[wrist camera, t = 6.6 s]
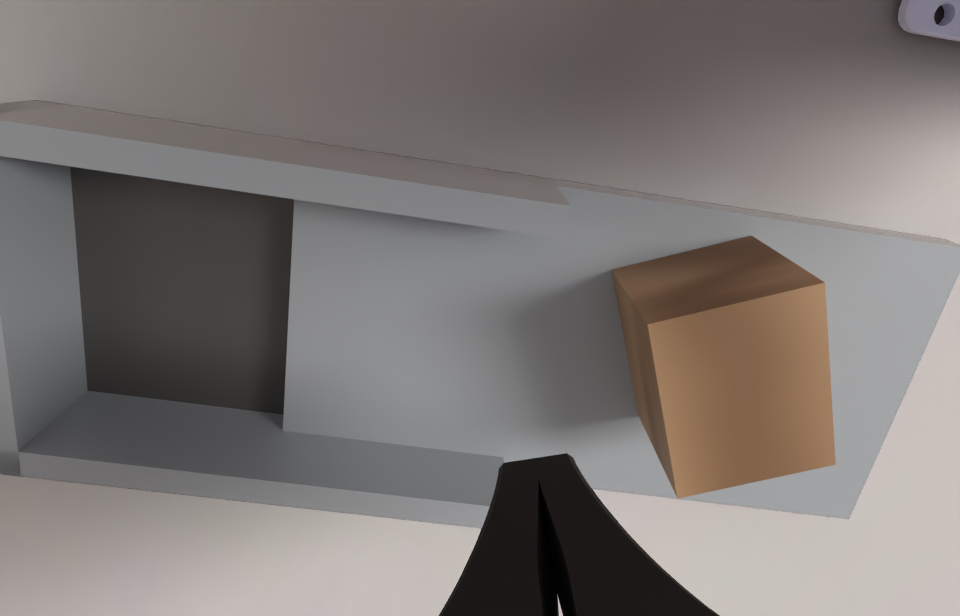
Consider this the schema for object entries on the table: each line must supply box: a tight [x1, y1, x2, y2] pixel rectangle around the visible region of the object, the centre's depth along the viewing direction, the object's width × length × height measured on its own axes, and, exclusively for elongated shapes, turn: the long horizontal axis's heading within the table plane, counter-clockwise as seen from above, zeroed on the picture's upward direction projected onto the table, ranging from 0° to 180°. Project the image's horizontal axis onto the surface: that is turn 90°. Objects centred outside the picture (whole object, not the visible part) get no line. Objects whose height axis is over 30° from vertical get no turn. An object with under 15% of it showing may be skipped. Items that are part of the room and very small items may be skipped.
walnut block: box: [611, 235, 836, 499], centre depth 17 cm, size 4×5×4 cm
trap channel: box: [0, 100, 960, 528], centre depth 18 cm, size 26×10×4 cm, turn 81°
